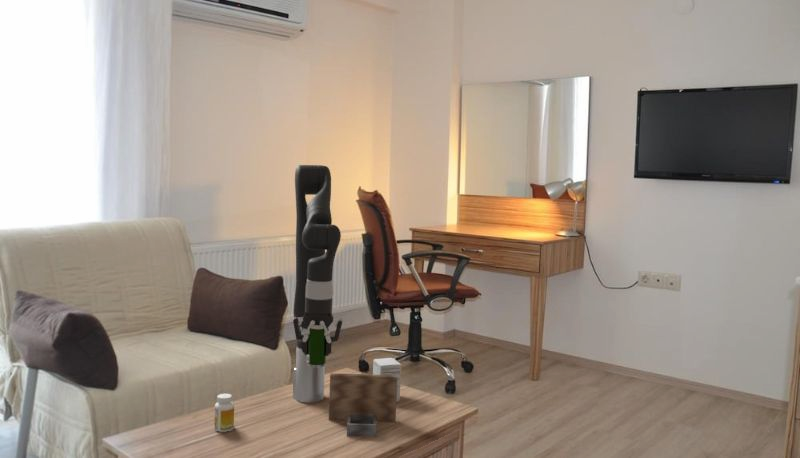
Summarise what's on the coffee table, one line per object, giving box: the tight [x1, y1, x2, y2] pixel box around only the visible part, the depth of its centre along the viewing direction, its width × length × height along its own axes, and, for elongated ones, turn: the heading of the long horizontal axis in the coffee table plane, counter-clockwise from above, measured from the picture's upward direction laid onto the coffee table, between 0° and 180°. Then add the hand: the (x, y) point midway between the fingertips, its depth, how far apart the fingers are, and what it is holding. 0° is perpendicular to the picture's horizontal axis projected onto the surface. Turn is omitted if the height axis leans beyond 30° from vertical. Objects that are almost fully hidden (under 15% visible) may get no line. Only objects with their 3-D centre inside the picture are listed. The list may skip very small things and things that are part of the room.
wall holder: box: [328, 372, 398, 438], centre depth 200 cm, size 20×13×14 cm, turn 92°
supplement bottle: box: [213, 393, 235, 433], centre depth 196 cm, size 5×5×10 cm
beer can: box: [307, 324, 327, 368], centre depth 193 cm, size 5×5×12 cm
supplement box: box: [372, 357, 402, 402], centre depth 225 cm, size 7×7×13 cm
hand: (316, 354), depth 193 cm, fingers closed on beer can, 5 cm apart
